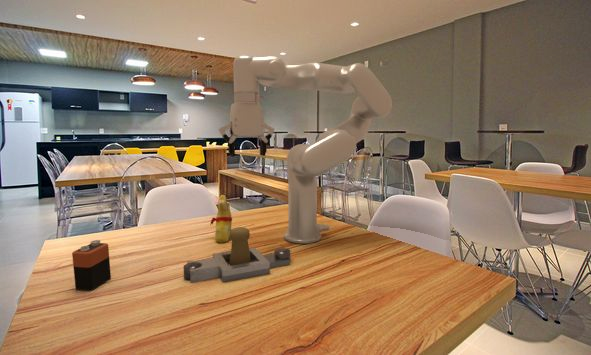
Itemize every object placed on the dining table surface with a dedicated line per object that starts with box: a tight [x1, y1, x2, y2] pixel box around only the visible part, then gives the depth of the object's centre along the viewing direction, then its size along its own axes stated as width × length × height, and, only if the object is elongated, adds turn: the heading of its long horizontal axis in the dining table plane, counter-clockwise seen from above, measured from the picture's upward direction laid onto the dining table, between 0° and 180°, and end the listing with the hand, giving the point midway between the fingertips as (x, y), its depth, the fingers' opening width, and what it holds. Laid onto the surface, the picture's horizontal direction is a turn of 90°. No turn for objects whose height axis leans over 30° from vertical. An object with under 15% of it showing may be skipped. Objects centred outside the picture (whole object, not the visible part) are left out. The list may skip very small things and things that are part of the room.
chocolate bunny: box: [210, 194, 233, 244], centre depth 112 cm, size 7×11×15 cm, turn 2°
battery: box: [71, 239, 112, 291], centre depth 79 cm, size 4×7×10 cm, turn 172°
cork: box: [228, 226, 251, 266], centre depth 87 cm, size 6×6×11 cm
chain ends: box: [183, 247, 291, 284], centre depth 88 cm, size 28×12×3 cm, turn 115°
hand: (247, 155), depth 103 cm, fingers open, 9 cm apart
